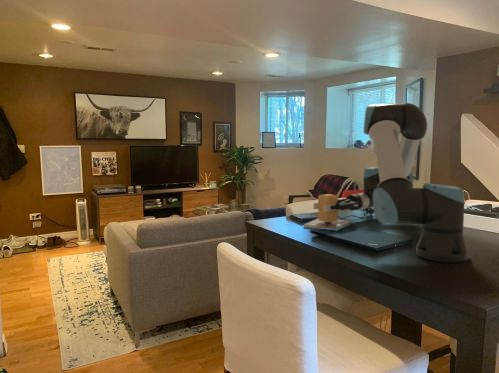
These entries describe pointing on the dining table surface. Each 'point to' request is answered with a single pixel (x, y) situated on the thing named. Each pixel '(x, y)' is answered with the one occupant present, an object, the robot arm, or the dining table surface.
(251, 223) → the dining table surface
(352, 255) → the dining table surface
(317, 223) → the plate
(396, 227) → the dining table surface
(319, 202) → the wooden block
